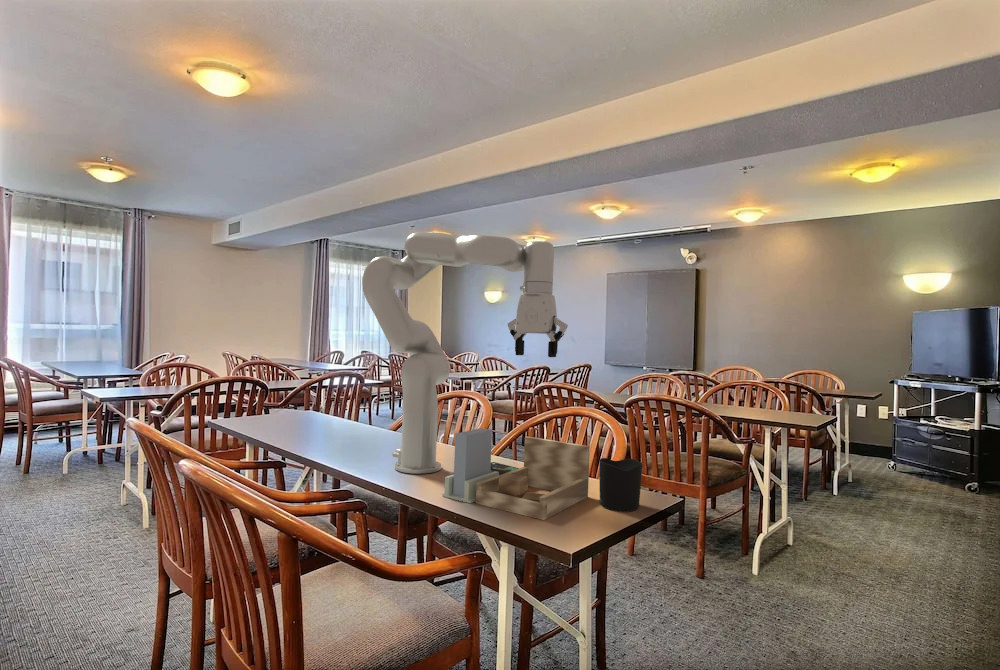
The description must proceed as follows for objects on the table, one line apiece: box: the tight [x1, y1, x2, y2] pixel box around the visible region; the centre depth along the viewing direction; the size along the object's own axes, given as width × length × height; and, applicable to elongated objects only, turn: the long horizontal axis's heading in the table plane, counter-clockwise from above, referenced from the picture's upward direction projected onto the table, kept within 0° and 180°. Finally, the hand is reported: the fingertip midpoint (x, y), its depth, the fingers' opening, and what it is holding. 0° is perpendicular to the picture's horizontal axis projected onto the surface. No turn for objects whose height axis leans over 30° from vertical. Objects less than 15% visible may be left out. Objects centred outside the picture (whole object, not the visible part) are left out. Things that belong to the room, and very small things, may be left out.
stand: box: [441, 471, 499, 504], centre depth 130 cm, size 8×12×5 cm, turn 146°
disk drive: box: [490, 461, 520, 475], centre depth 145 cm, size 10×3×15 cm
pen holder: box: [599, 457, 643, 513], centre depth 125 cm, size 9×9×10 cm
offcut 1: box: [498, 474, 529, 495], centre depth 124 cm, size 5×5×3 cm
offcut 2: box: [497, 489, 529, 498], centre depth 124 cm, size 5×5×3 cm
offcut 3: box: [522, 491, 546, 502], centre depth 120 cm, size 5×5×3 cm
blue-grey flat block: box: [453, 427, 493, 497], centre depth 130 cm, size 3×10×14 cm, turn 146°
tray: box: [475, 436, 591, 521], centre depth 127 cm, size 17×21×12 cm
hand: (535, 356), depth 143 cm, fingers open, 9 cm apart
